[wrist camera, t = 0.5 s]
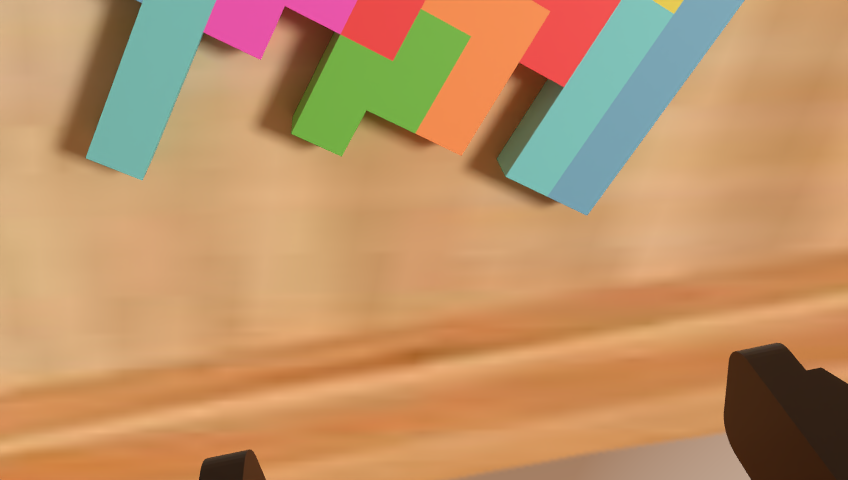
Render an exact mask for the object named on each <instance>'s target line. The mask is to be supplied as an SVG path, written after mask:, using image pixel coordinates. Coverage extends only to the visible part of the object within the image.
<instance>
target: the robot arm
mask: <svg viewBox="0 0 848 480" xmlns="http://www.w3.org/2000/svg"><path fill="white" fill-rule="evenodd" d="M724 424H725V429H726V433H727V437H728V439H729V442H730V444H731V447H732V449H733V451H734V453H735V454H736V456H737V458H738V459H739V461H740V462H741V464H742V466H743V467H744V469H745V470H746V472H747V474H748V475H749V477H750V478H751V480H848V384H847V383H846V382H844V381H842V380H841V379H839V378H837V377H836V376H834V375H833V374H831V373H829V372H828V371H826V370H824V369H823V368H817V369H812V370H807V371H806V370H805V369H804V367H803V366H802V365H801V364H800V363H799V361H798V360H797V359H796V358H795V357H794V355H793V354H792V353H791V352H790V351H789V349H788V348H787V347H785V346H784V345H783V344H781V343H774V344H769V345H764V346H760V347H755V348H750V349H745V350H740V351H735V352H733V353H732V354H731V355H730V358H729V366H728V376H727V386H726V396H725V407H724ZM199 480H266V479H265V477H264V474H263V472H262V469H261V467H260V465H259V462H258V460H257V458H256V456H255V454H254V452H253V451H252V450H245V451H240V452H235V453H231V454H226V455H221V456H216V457H211V458H207V459H205V460H204V461H203V463H202V466H201V471H200V477H199Z"/></svg>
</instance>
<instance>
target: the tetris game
mask: <svg viewBox="0 0 848 480" xmlns="http://www.w3.org/2000/svg"><path fill="white" fill-rule="evenodd" d="M136 1H139V2H141V3H142V5H141V7H140V10H139V13H138V16H137V18H136V21H135V24H134V27H133V29H132V32H131V35H130V38H129V40H128V43H127V46H126V49H125V51H124V54H123V57H122V60H121V62H120V65H119V68H118V71H117V73H116V76H115V79H114V81H113V84H112V87H111V90H110V92H109V95H108V98H107V101H106V103H105V106H104V109H103V112H102V114H101V117H100V120H99V123H98V125H97V128H96V131H95V134H94V136H93V139H92V142H91V145H90V147H89V150H88V153H87V156H86V159H89V160H92V161H94V162H97V163H99V164H102V165H104V166H107V167H109V168H112V169H114V170H117V171H120V172H122V173H125V174H127V175H130V176H132V177H135V178H137V179H140V180H143V178H144V176H145V174H146V172H147V170H148V167H149V165H150V163H151V161H152V159H153V156H154V154H155V151H156V149H157V146H158V144H159V141H160V139H161V137H162V134H163V132H164V129H165V127H166V124H167V122H168V119H169V117H170V115H171V112H172V110H173V107H174V105H175V102H176V100H177V98H178V95H179V93H180V90H181V88H182V85H183V83H184V80H185V78H186V76H187V73H188V71H189V68H190V66H191V63H192V61H193V59H194V56H195V54H196V51H197V49H198V46H199V44H200V41H201V39H202V37H203V34H204V33H206V34H208V35H210V36H212V37H214V38H216V39H218V40H220V41H222V42H224V43H227V44H229V45H231V46H233V47H235V48H237V49H239V50H241V51H243V52H245V53H247V54H250V55H252V56H254V57H256V58H258V59H260V60H261V58H262V56H263V53H264V51H265V49H266V47H267V45H268V42H269V40H270V38H271V36H272V34H273V31H274V29H275V27H276V25H277V23H278V20H279V18H280V16H281V14H282V11H283V9H284V7H285V6H286V7H288V8H290V9H292V10H294V11H296V12H298V13H299V14H301V15H303V16H305V17H307V18H309V19H311V20H313V21H315V22H317V23H319V24H321V25H323V26H325V27H327V28H329V29H331V30H333V31H334V33H333V35H332V38H331V40H330V42H329V44H328V46H327V48H326V50H325V52H324V54H323V56H322V58H321V60H320V62H319V64H318V66H317V68H316V70H315V72H314V74H313V76H312V78H311V80H310V82H309V84H308V86H307V89H306V91H305V93H304V95H303V97H302V99H301V101H300V103H299V105H298V107H297V109H296V111H295V113H294V115H293V118H292V130H291V134H293V135H295V136H297V137H299V138H301V139H304V140H306V141H308V142H310V143H313V144H315V145H317V146H319V147H322V148H324V149H326V150H328V151H331V152H333V153H335V154H337V155H340V156H342V155H343V153H344V151H345V149H346V147H347V146H348V144H349V142H350V140H351V138H352V136H353V134H354V133H355V131H356V129H357V127H358V125H359V123H360V121H361V120H362V118H363V116H364V114H365V112H366V110H367V111H369V112H371V113H373V114H375V115H377V116H379V117H382V118H384V119H386V120H388V121H390V122H392V123H394V124H396V125H398V126H400V127H402V128H405V129H407V130H409V131H411V132H413V133H415V134H417V135H419V136H421V137H423V138H426V139H428V140H430V141H432V142H434V143H436V144H438V145H440V146H442V147H444V148H446V149H449V150H451V151H453V152H455V153H457V154H459V155H461V156H462V154H463V152H464V151H465V149H466V148H467V146H468V144H469V143H470V141H471V139H472V138H473V136H474V135H475V133H476V131H477V130H478V128H479V126H480V125H481V123H482V122H483V120H484V118H485V117H486V115H487V113H488V112H489V110H490V109H491V107H492V105H493V104H494V102H495V101H496V99H497V97H498V96H499V94H500V92H501V91H502V89H503V88H504V86H505V84H506V83H507V81H508V79H509V78H510V76H511V75H512V73H513V71H514V70H515V68H516V66H517V65H518V63H521V64H523V65H524V66H526V67H528V68H530V69H532V70H534V71H535V72H537V73H539V74H541V75H543V76H544V77H546V78H548V80H547V81H546V83H545V84H544V86H543V87H542V89H541V91H540V92H539V94H538V95H537V97H536V98H535V100H534V101H533V103H532V105H531V106H530V108H529V109H528V111H527V112H526V114H525V115H524V117H523V119H522V120H521V122H520V123H519V125H518V126H517V128H516V129H515V131H514V133H513V134H512V136H511V137H510V139H509V140H508V142H507V144H506V145H505V147H504V148H503V150H502V151H501V153H500V154H499V156H498V158H497V161H498V163H499V165H500V167H501V169H502V171H503V173H504V175H505V177H507V178H509V179H511V180H514V181H516V182H518V183H520V184H522V185H524V186H526V187H528V188H530V189H532V190H534V191H537V192H539V193H541V194H543V195H545V196H547V197H549V198H551V199H553V200H555V201H558V202H560V203H562V204H564V205H566V206H568V207H570V208H572V209H574V210H576V211H578V212H581V213H583V214H585V215H588V214H589V212H590V211H591V210H592V208H593V207H594V206H595V204H596V203H597V201H598V200H599V199H600V197H601V196H602V195H603V193H604V192H605V190H606V189H607V188H608V186H609V185H610V184H611V182H612V181H613V180H614V178H615V177H616V175H617V174H618V173H619V171H620V170H621V169H622V167H623V166H624V165H625V163H626V162H627V160H628V159H629V158H630V156H631V155H632V154H633V152H634V151H635V149H636V148H637V147H638V145H639V144H640V143H641V141H642V140H643V139H644V137H645V136H646V134H647V133H648V132H649V130H650V129H651V128H652V126H653V125H654V123H655V122H656V121H657V119H658V118H659V117H660V115H661V114H662V113H663V111H664V110H665V108H666V107H667V106H668V104H669V103H670V102H671V100H672V99H673V97H674V96H675V95H676V93H677V92H678V91H679V89H680V88H681V87H682V85H683V84H684V82H685V81H686V80H687V78H688V77H689V76H690V74H691V73H692V71H693V70H694V69H695V67H696V66H697V65H698V63H699V62H700V61H701V59H702V58H703V56H704V55H705V54H706V52H707V51H708V50H709V48H710V47H711V46H712V44H713V43H714V41H715V40H716V39H717V37H718V36H719V35H720V33H721V32H722V30H723V29H724V28H725V26H726V25H727V24H728V22H729V21H730V20H731V18H732V17H733V15H734V14H735V13H736V11H737V10H738V9H739V7H740V6H741V4H742V3H743V2H744V0H136Z"/></svg>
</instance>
